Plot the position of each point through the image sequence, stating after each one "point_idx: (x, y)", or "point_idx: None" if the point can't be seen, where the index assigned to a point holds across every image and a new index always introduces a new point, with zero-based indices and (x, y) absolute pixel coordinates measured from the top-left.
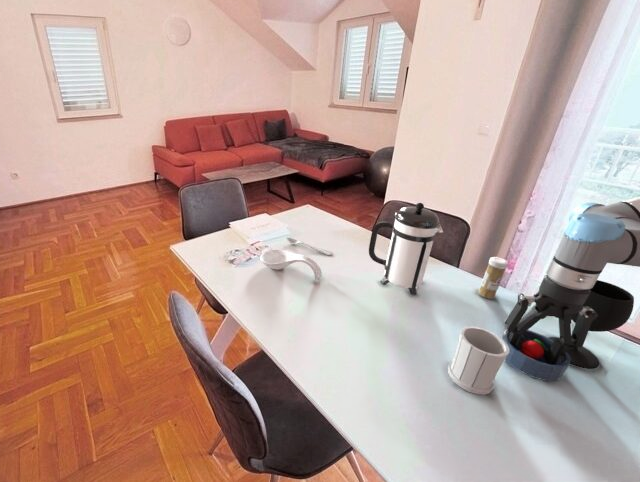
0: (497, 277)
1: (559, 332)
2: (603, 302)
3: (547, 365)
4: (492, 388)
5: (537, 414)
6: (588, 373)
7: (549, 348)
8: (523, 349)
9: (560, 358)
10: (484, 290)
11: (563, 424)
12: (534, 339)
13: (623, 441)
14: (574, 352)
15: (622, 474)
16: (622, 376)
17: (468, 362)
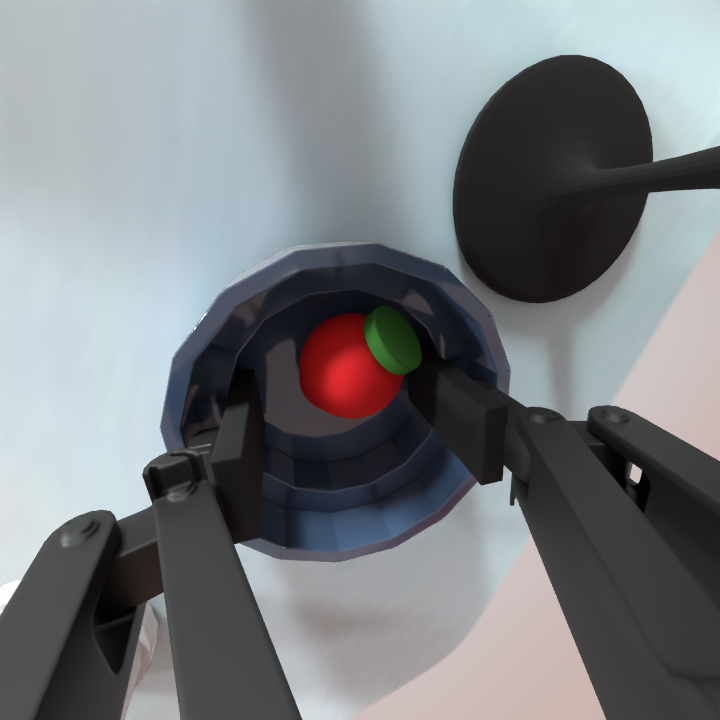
0: None
1: (538, 448)
2: None
3: (369, 553)
4: (152, 656)
5: (299, 626)
6: (551, 323)
7: (435, 371)
8: (303, 391)
9: (468, 375)
10: None
11: (363, 615)
12: (372, 335)
13: (490, 575)
14: (568, 219)
15: (438, 662)
16: (665, 272)
17: None
